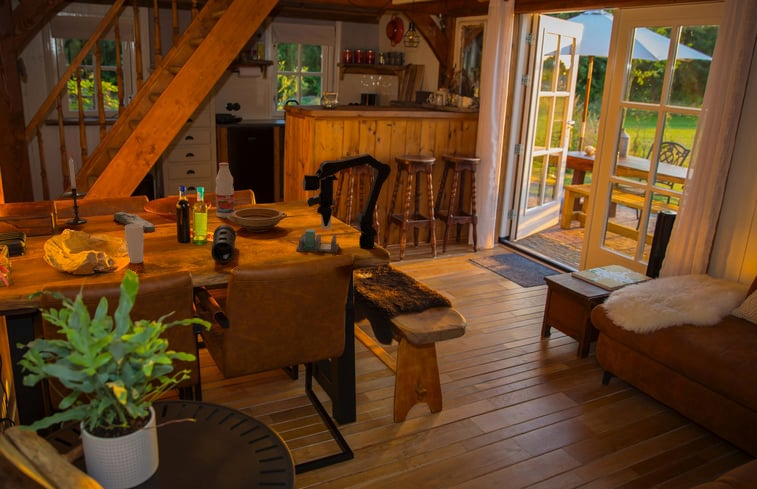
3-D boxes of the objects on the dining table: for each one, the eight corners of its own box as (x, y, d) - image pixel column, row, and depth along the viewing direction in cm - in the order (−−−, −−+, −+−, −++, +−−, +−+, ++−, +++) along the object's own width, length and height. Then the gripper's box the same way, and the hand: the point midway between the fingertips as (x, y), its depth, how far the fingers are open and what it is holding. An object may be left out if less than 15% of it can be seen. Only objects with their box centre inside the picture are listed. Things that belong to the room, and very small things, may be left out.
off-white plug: (322, 226, 269) (322, 211, 267) (331, 227, 268) (331, 212, 266) (321, 229, 265) (321, 213, 263) (330, 229, 265) (330, 214, 263)
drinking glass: (147, 259, 245) (145, 223, 241) (142, 264, 238) (139, 228, 234) (130, 258, 244) (128, 223, 240) (124, 264, 238) (121, 227, 234)
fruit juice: (232, 213, 325) (230, 161, 317) (236, 217, 317) (235, 164, 309) (214, 214, 321) (212, 162, 313) (218, 218, 313) (217, 165, 305)
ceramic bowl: (280, 221, 313) (280, 206, 311) (293, 233, 292) (293, 217, 290) (222, 224, 301) (222, 209, 299) (232, 237, 280) (232, 221, 278)
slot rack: (338, 246, 275) (339, 235, 273) (336, 253, 264) (337, 242, 263) (299, 244, 275) (299, 233, 273) (296, 251, 264) (296, 240, 263)
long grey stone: (140, 236, 281) (160, 234, 288) (140, 226, 279) (161, 223, 286) (107, 218, 303) (127, 216, 310) (107, 208, 301) (127, 206, 308)
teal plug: (306, 244, 271) (306, 229, 269) (315, 244, 271) (315, 229, 269) (305, 246, 267) (305, 231, 265) (314, 247, 267) (314, 232, 265)
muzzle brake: (211, 266, 241) (210, 241, 238) (214, 246, 267) (213, 223, 264) (235, 265, 243) (234, 241, 240) (236, 245, 269) (235, 223, 266)
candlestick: (82, 225, 289) (75, 152, 279) (60, 224, 289) (52, 151, 279) (93, 220, 299) (87, 149, 290) (71, 219, 300) (64, 148, 290)
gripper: (310, 185, 271) (310, 219, 275) (305, 193, 253) (305, 229, 257) (335, 186, 271) (335, 220, 275) (331, 194, 253) (331, 230, 257)
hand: (326, 224), depth 266 cm, fingers closed on off-white plug, 4 cm apart
